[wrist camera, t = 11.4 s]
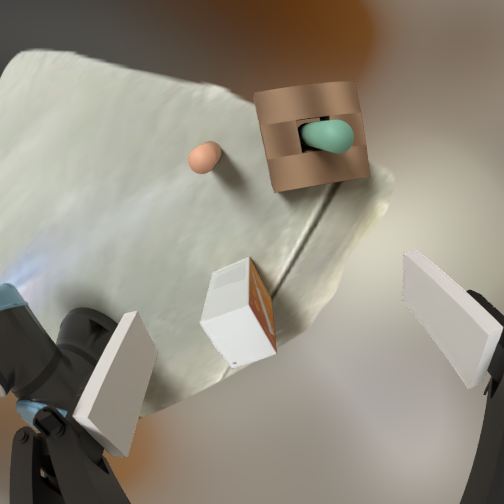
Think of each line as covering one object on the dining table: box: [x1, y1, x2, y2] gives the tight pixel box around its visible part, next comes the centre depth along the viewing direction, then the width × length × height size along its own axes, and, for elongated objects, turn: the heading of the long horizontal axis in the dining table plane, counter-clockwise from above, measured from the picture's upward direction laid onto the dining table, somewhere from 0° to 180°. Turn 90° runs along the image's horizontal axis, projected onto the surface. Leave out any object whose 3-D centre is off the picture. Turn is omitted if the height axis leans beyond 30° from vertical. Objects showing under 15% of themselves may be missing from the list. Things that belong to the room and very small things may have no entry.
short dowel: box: [188, 142, 222, 174], centre depth 34 cm, size 3×3×7 cm
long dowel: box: [298, 120, 354, 154], centre depth 29 cm, size 3×3×14 cm
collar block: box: [254, 81, 370, 193], centre depth 33 cm, size 12×12×5 cm
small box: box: [200, 257, 277, 368], centre depth 39 cm, size 8×6×13 cm
